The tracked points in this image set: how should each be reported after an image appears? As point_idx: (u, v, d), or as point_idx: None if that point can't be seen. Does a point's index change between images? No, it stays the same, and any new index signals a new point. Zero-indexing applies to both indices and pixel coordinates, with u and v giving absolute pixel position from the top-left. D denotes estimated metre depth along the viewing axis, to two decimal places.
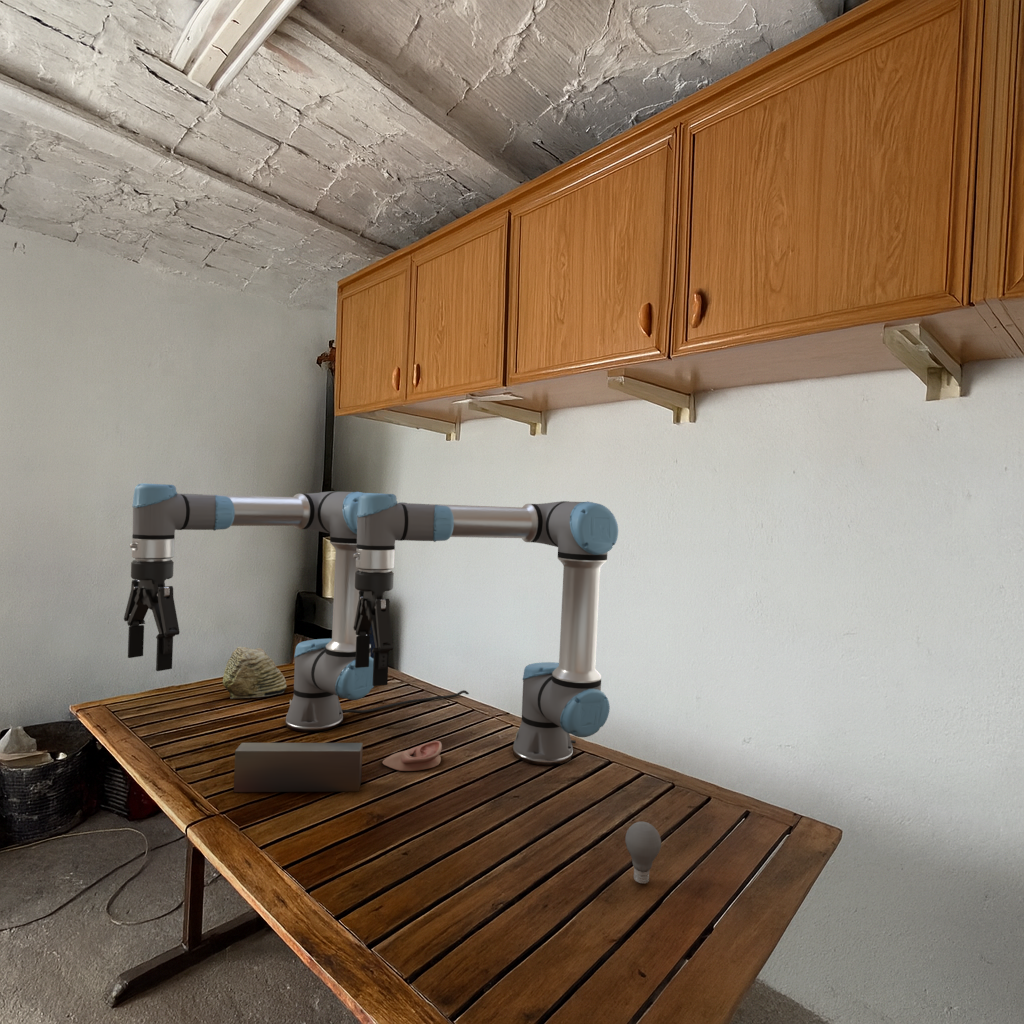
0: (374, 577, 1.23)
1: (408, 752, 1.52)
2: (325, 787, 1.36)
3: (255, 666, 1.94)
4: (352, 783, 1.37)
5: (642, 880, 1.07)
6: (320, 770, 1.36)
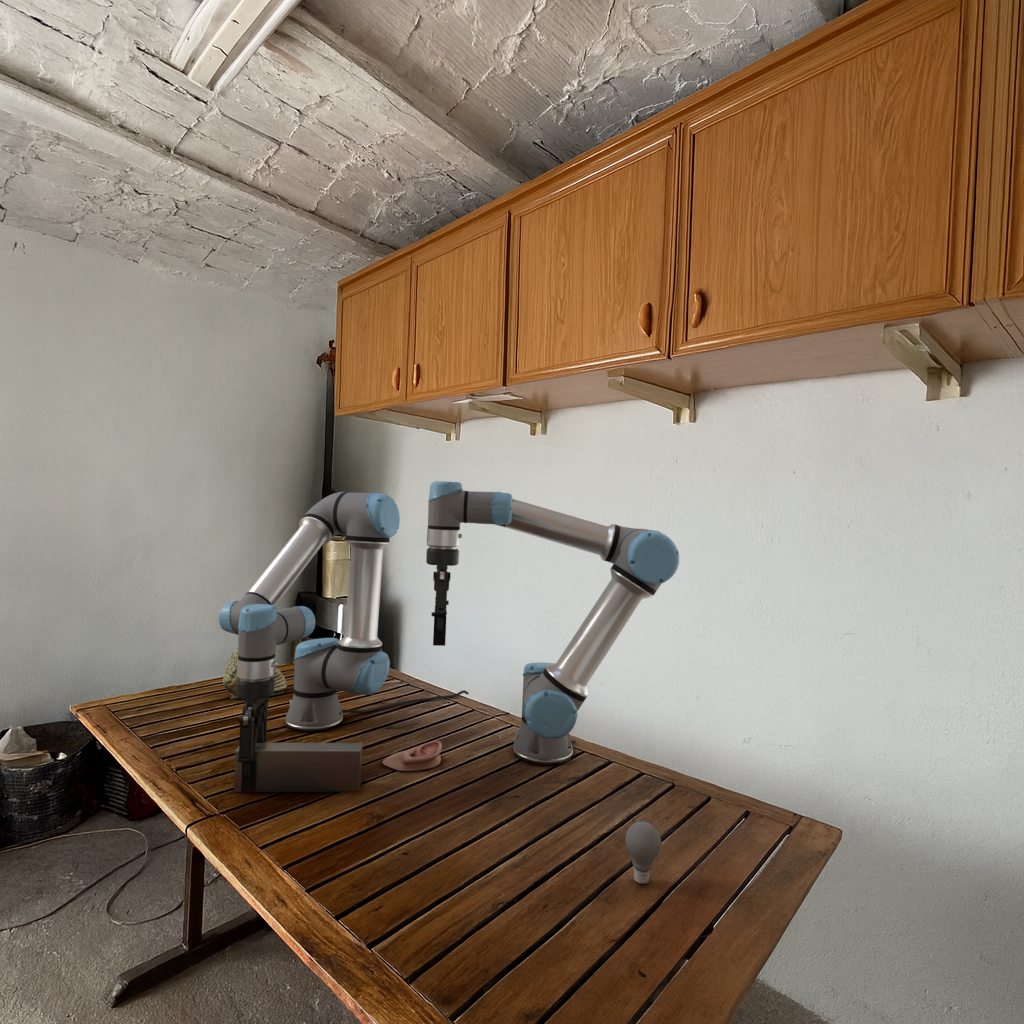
0: None
1: (408, 752, 1.52)
2: (325, 787, 1.36)
3: None
4: (352, 783, 1.37)
5: (642, 880, 1.07)
6: (320, 770, 1.36)
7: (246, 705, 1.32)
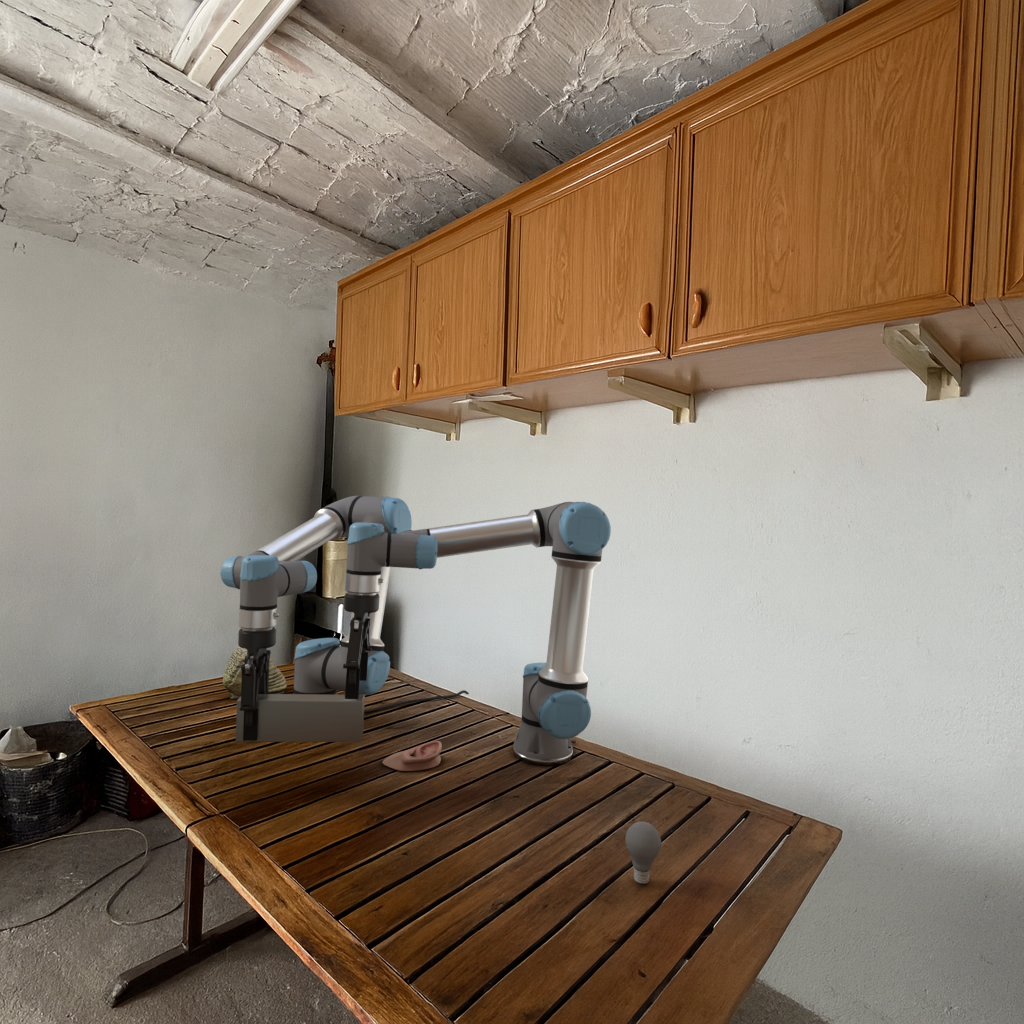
0: None
1: (408, 752, 1.52)
2: (327, 738, 1.36)
3: None
4: (354, 733, 1.37)
5: (642, 880, 1.07)
6: (322, 720, 1.36)
7: (248, 654, 1.32)
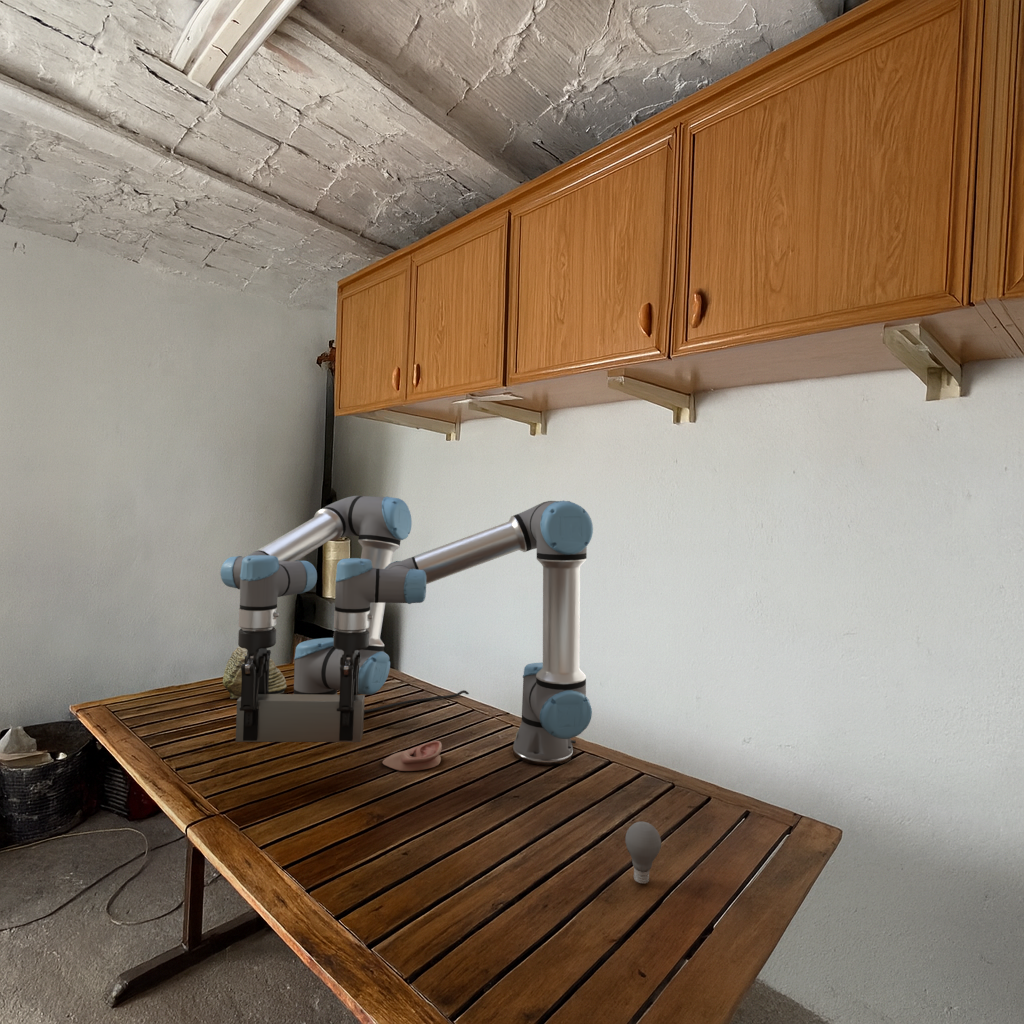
0: None
1: (408, 752, 1.52)
2: (327, 738, 1.36)
3: None
4: (353, 733, 1.36)
5: (642, 880, 1.07)
6: (322, 721, 1.36)
7: (248, 654, 1.32)
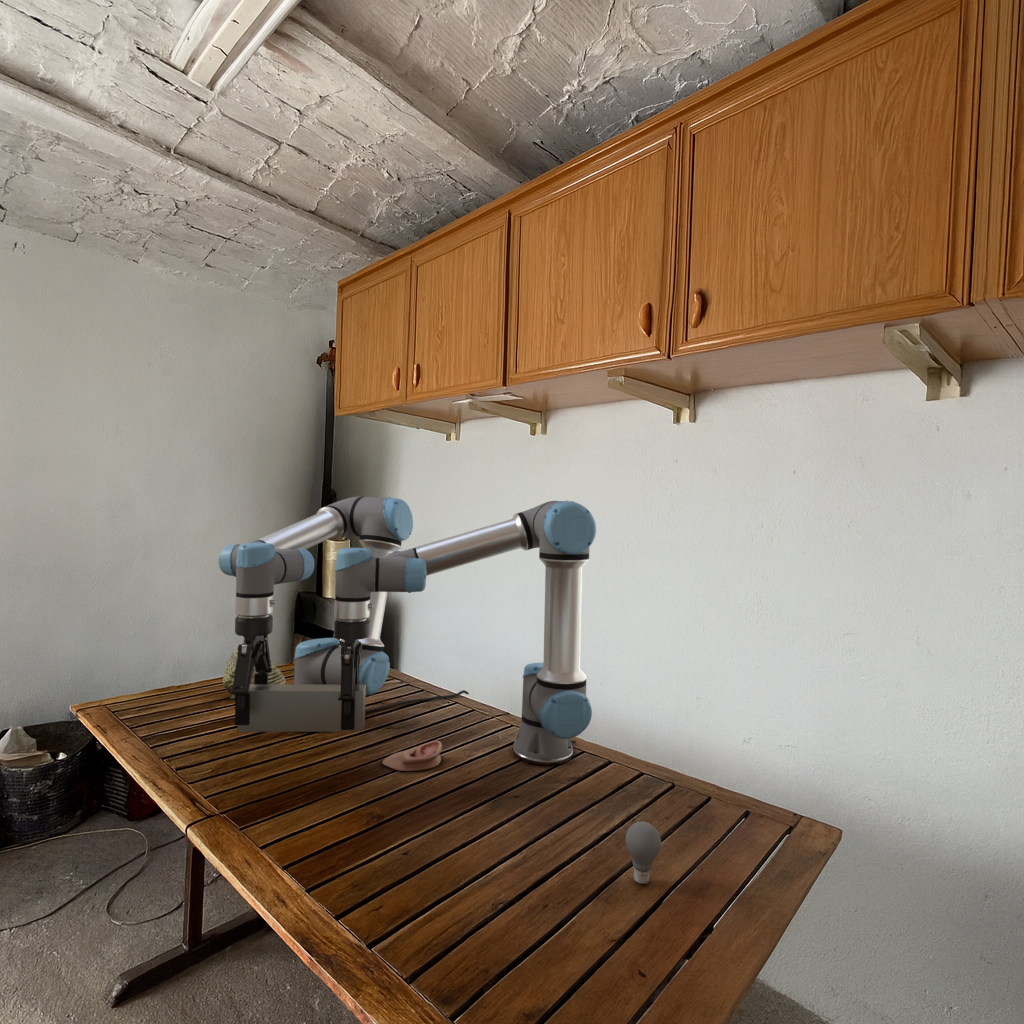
0: None
1: (408, 752, 1.52)
2: (329, 727, 1.36)
3: None
4: (355, 723, 1.36)
5: (642, 880, 1.07)
6: (323, 710, 1.36)
7: (245, 641, 1.32)
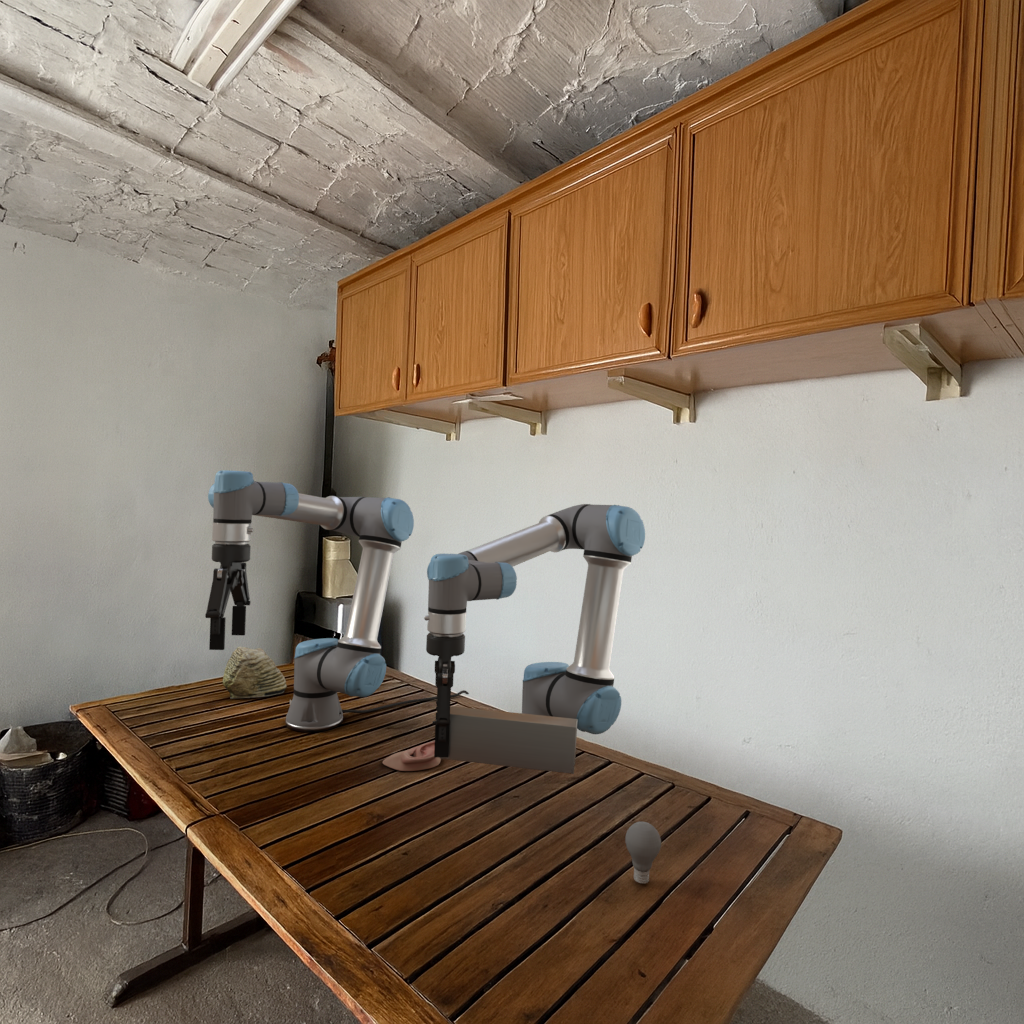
0: (440, 641, 1.20)
1: (408, 752, 1.52)
2: None
3: (255, 666, 1.94)
4: None
5: (642, 880, 1.07)
6: None
7: (221, 567, 1.31)
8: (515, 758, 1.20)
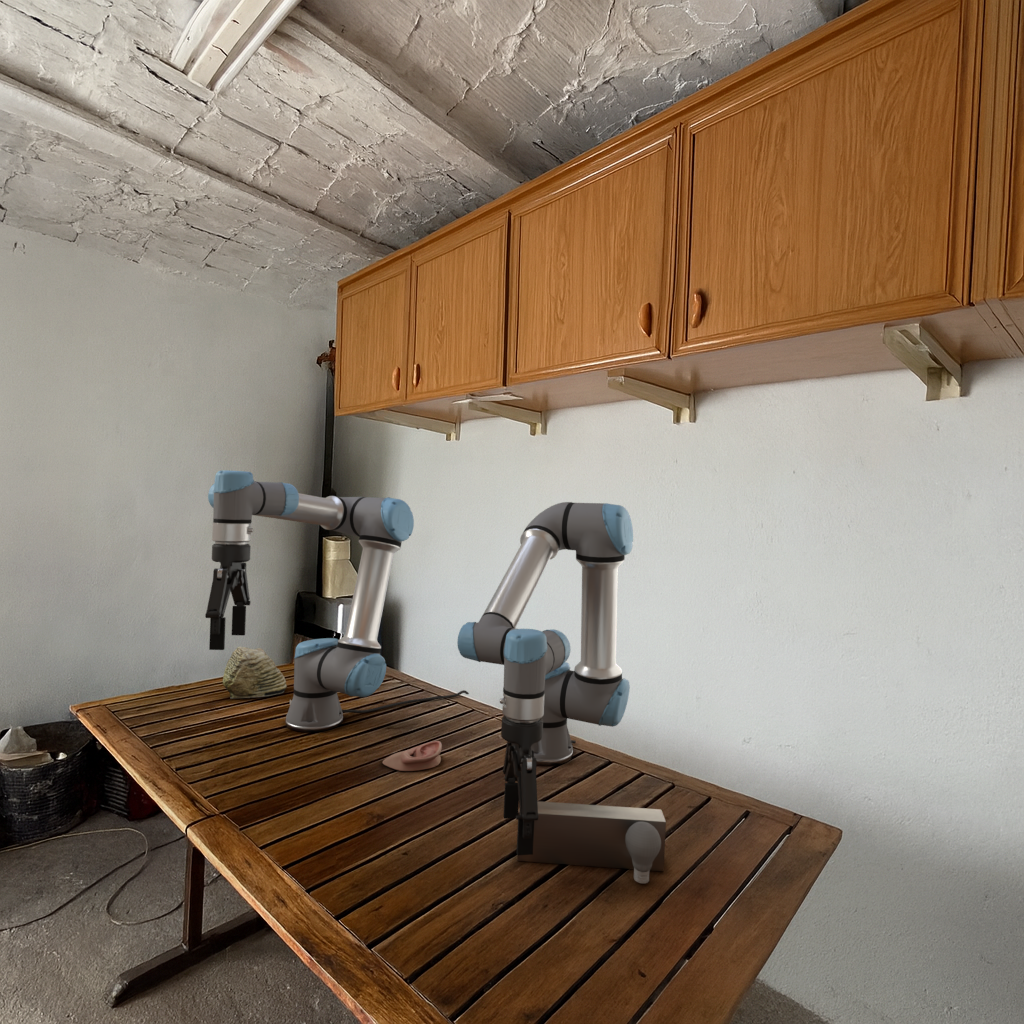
0: (521, 728, 1.11)
1: (408, 752, 1.52)
2: None
3: (255, 666, 1.94)
4: None
5: (642, 880, 1.07)
6: None
7: (221, 567, 1.31)
8: (600, 857, 1.12)
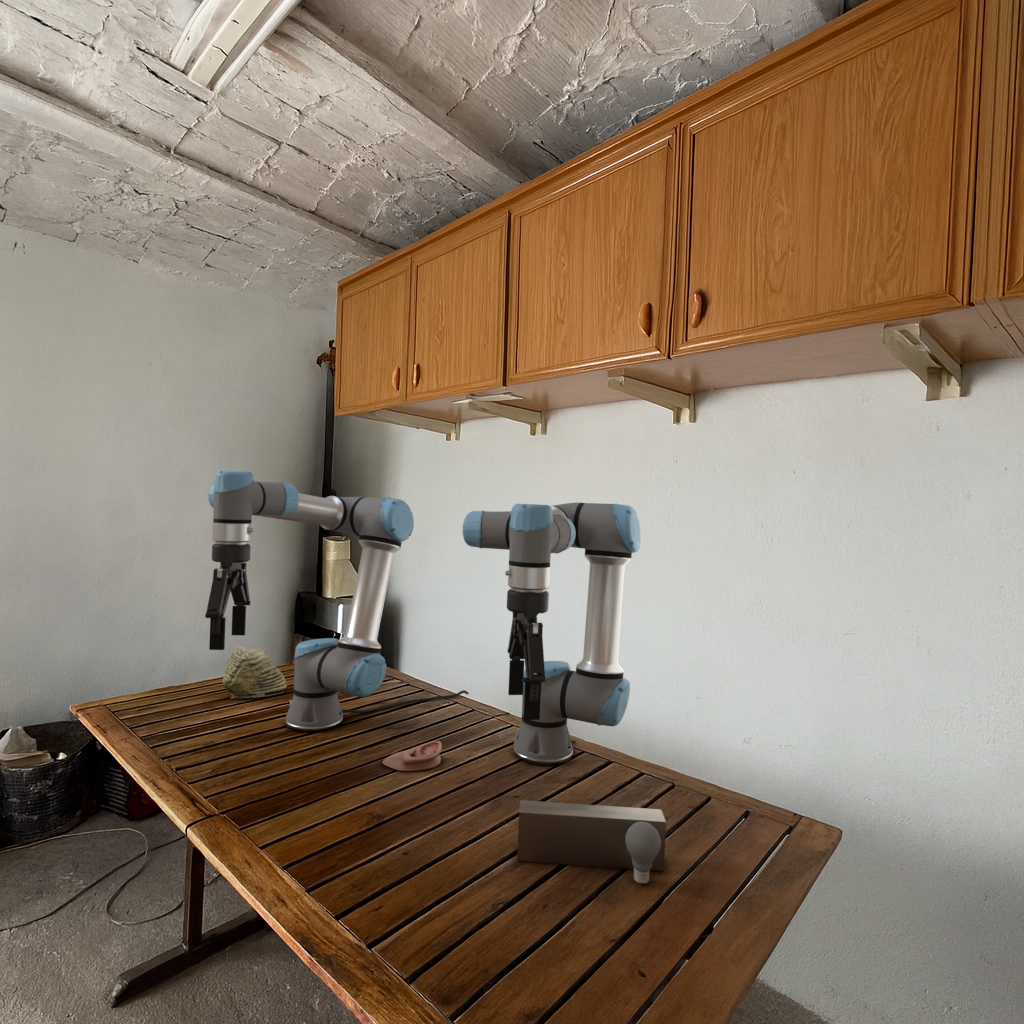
0: (526, 597, 1.10)
1: (408, 752, 1.52)
2: None
3: (255, 666, 1.94)
4: None
5: (642, 880, 1.07)
6: None
7: (221, 567, 1.31)
8: (600, 857, 1.12)
